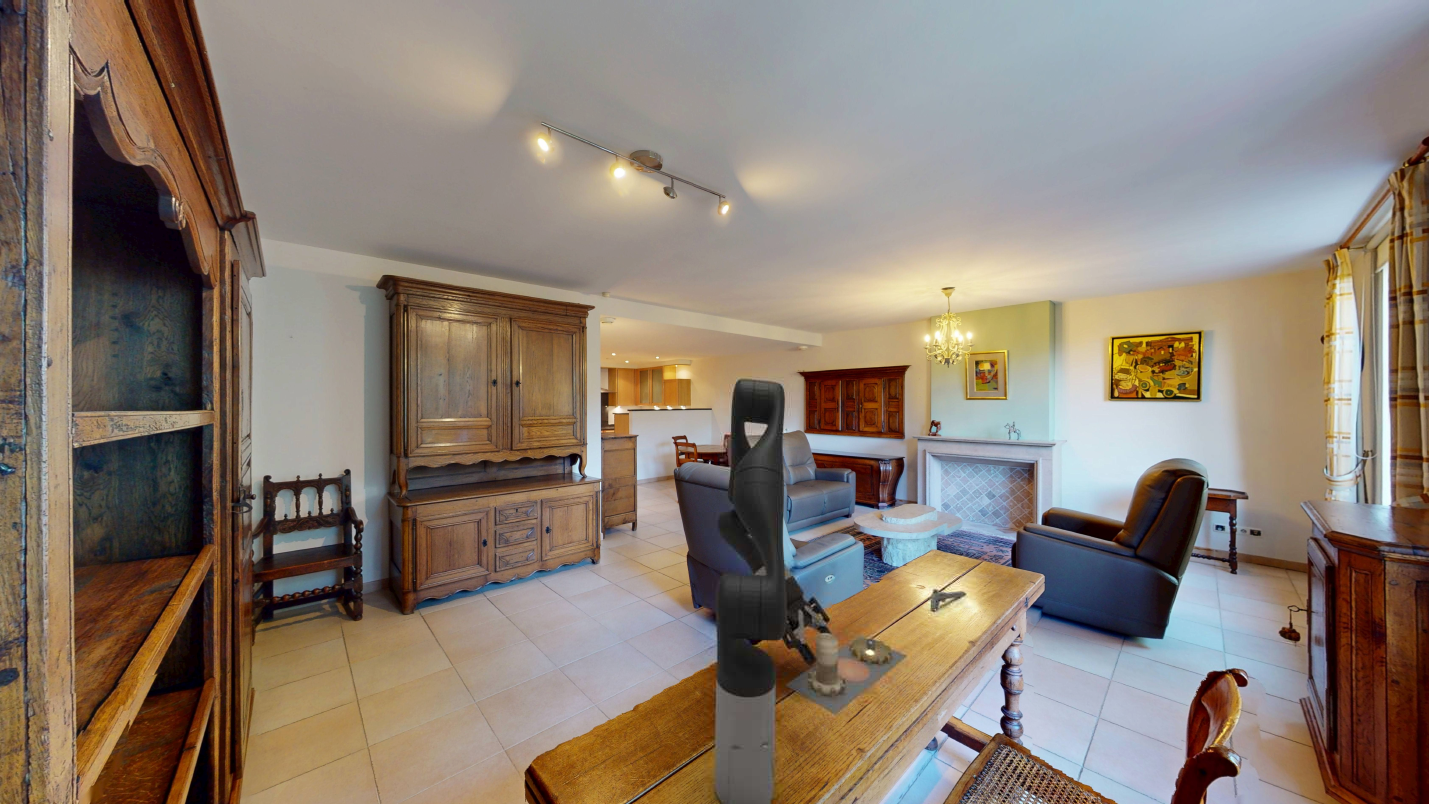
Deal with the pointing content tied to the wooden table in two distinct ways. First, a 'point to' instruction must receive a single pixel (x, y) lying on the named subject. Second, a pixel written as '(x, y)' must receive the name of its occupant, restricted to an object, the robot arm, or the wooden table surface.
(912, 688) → the wooden table surface
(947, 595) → the caliper
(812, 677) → the beech gear spindle
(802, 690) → the gear board
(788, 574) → the robot arm
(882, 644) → the brass gear
